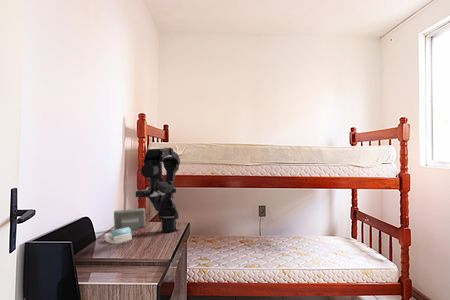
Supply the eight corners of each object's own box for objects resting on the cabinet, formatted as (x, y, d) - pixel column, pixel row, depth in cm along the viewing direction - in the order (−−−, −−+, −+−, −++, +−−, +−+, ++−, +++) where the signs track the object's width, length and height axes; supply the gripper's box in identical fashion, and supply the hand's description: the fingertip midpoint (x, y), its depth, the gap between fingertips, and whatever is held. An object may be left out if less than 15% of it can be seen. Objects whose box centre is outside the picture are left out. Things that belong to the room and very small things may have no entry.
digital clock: (146, 226, 169) (146, 206, 170) (144, 229, 160) (143, 209, 161) (116, 228, 167) (115, 208, 168) (112, 232, 158) (111, 211, 159)
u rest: (120, 237, 146) (120, 230, 147) (131, 240, 140) (131, 233, 140) (104, 240, 141) (104, 234, 141) (115, 244, 134) (115, 237, 134)
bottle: (125, 227, 146) (106, 231, 139) (130, 227, 143) (111, 231, 136) (126, 236, 146) (107, 241, 139) (131, 237, 142) (112, 241, 135)
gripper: (149, 177, 126) (151, 215, 126) (183, 174, 141) (184, 208, 140) (134, 177, 134) (135, 213, 133) (167, 174, 148) (169, 207, 147)
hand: (157, 210), depth 138 cm, fingers closed
